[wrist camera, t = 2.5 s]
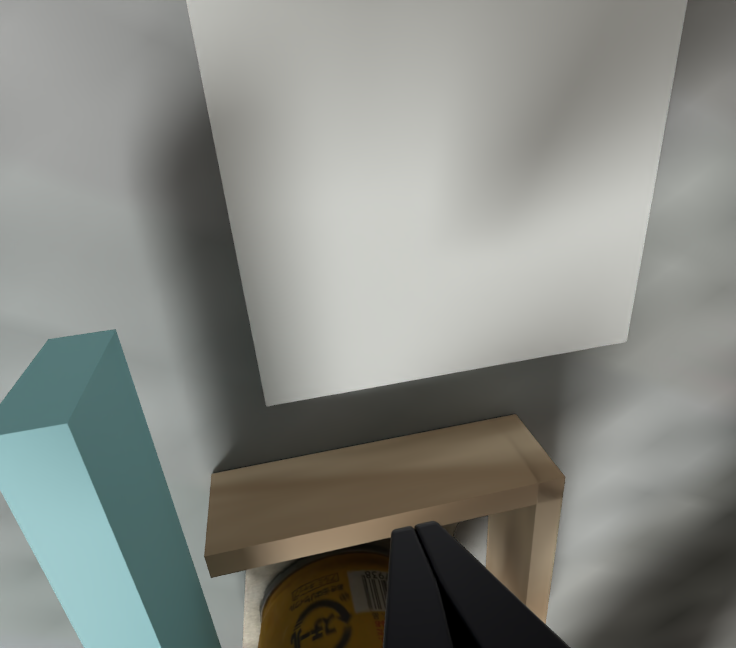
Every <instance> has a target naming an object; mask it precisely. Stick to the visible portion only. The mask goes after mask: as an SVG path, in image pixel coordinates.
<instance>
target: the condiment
mask: <svg viewBox="0 0 736 648" xmlns="http://www.w3.org/2000/svg"><path fill="white" fill-rule="evenodd" d="M457 524H458V522H456V523H452V524H447V525H443V526H442V527H443V528H444V529H445V530H446V531H447V532H448V533H449V534H450V535H452V536H454V532H455V529H456V526H457ZM390 541H391V537H390V538H385V539H381V540H376V541H372V542H368V543H363V544H359V545H354V546H350V547H345V548H341V549H337V550H332V551H328V552H323V553H319V554H315V555H310V556H306V557H301V558H297V559H292V560H288V561H284V562H279V563H275V564H270V565H266V566H261V567H257V568H253V569H248V570H246V581H245V603H244V627H243V648H383V638H384V624H385V610H386V596H387V582H388V569H389V555H390Z"/></svg>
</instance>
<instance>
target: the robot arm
mask: <svg viewBox="0 0 736 648" xmlns="http://www.w3.org/2000/svg"><path fill="white" fill-rule="evenodd" d="M383 648H570V647H569V646H568V645H567V644H566V643H565V642H564V641H563V640H562V639H561V638H560V637H559V636H558V635H556V634H555V633H554V632H553V631H552V630H551V629H550V628H549V627H548V626H547V625H546V624H545V623H544V622H543V621H542V620H541V619H540V618H538V617H537V616H536V615H535V614H534V613H533V612H532V611H531V610H530V609H529V608H528V607H527V606H526V605H525V604H524V603H523V602H521V601H520V600H519V599H518V598H517V597H516V596H515V595H514V594H513V593H512V592H511V591H510V590H509V589H508V588H507V587H506V586H505V585H503V584H502V583H501V582H500V581H499V580H498V579H497V578H496V577H495V576H494V575H493V574H492V573H491V572H490V571H489V570H488V569H487V568H485V567H484V566H483V565H482V564H481V563H480V562H479V561H478V560H477V559H476V558H475V557H474V556H473V555H472V554H471V553H470V552H468V551H467V550H466V549H465V548H464V547H463V546H462V545H461V544H460V543H459V542H458V541H457V540H456V539H455V538H454V537H453V536H452V535H450V534H449V533H448V532H447V531H446V530H445V529H444V528H443V527H442V526H441V525H440V524H439V523H438V522H436V521H429V522H425V523H420V524H417V525H415V526H414V528H413V527H412V526H407V527H402V528H398V529H394V530H393V531H392V532H391V541H390V555H389V569H388V582H387V596H386V610H385V624H384V638H383Z"/></svg>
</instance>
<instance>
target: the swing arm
mask: <svg viewBox="0 0 736 648" xmlns="http://www.w3.org/2000/svg"><path fill="white" fill-rule="evenodd" d="M0 490H1V492H2V494H3V496H4V498H5V500H6V502H7V504H8V505H9V507H10V509H11V511H12V513H13V515H14V517H15V519H16V520H17V522H18V524H19V526H20V528H21V530H22V532H23V534H24V536H25V537H26V539H27V541H28V543H29V545H30V547H31V549H32V551H33V552H34V554H35V556H36V558H37V560H38V562H39V564H40V566H41V568H42V569H43V571H44V573H45V575H46V577H47V579H48V581H49V583H50V584H51V586H52V588H53V590H54V592H55V594H56V596H57V598H58V600H59V601H60V603H61V605H62V607H63V609H64V611H65V613H66V615H67V616H68V618H69V620H70V622H71V624H72V626H73V628H74V630H75V632H76V633H77V635H78V637H79V639H80V641H81V643H82V645H83V647H84V648H221V645H220V642H219V639H218V636H217V633H216V630H215V627H214V624H213V621H212V618H211V615H210V612H209V609H208V606H207V603H206V600H205V597H204V594H203V591H202V588H201V585H200V582H199V579H198V576H197V573H196V570H195V567H194V564H193V561H192V558H191V555H190V552H189V549H188V546H187V543H186V540H185V537H184V534H183V531H182V528H181V525H180V522H179V519H178V516H177V513H176V510H175V507H174V504H173V501H172V498H171V495H170V492H169V489H168V486H167V483H166V480H165V477H164V474H163V471H162V468H161V465H160V462H159V459H158V456H157V453H156V450H155V447H154V444H153V441H152V437H151V434H150V431H149V428H148V425H147V422H146V419H145V416H144V413H143V410H142V407H141V404H140V401H139V398H138V395H137V392H136V389H135V386H134V383H133V380H132V377H131V374H130V371H129V368H128V365H127V362H126V359H125V356H124V353H123V350H122V347H121V344H120V341H119V338H118V335H117V332H116V329H114V330H107V331H101V332H94V333H87V334H81V335H74V336H67V337H61V338H54V339H48V341H47V342H46V343H45V345H44V346H43V347H42V349H41V350H40V351H39V353H38V354H37V355H36V357H35V358H34V359H33V361H32V362H31V363H30V365H29V366H28V367H27V369H26V370H25V371H24V373H23V374H22V375H21V377H20V378H19V379H18V381H17V382H16V384H15V385H14V386H13V388H12V389H11V390H10V392H9V393H8V394H7V396H6V397H5V398H4V400H3V401H2V402H1V404H0Z"/></svg>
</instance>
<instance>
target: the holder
mask: <svg viewBox="0 0 736 648" xmlns="http://www.w3.org/2000/svg"><path fill="white" fill-rule="evenodd" d="M564 484H565V476H564V475H563V474H562V472H561V471H560V470H559V468H558V467H557V466H556V465H555V463H554V462H553V461H552V460H551V458H550V457H549V456H548V454H547V453H546V452H545V451H544V449H543V448H542V447H541V446H540V444H539V443H538V442H537V440H536V439H535V438H534V437H533V435H532V434H531V433H530V432H529V430H528V429H527V428H526V426H525V425H524V424H523V423H522V421H521V420H520V419H519V418H518V416H517V415H516V414H514V415H509V416H504V417H499V418H494V419H489V420H484V421H478V422H473V423H468V424H463V425H458V426H453V427H448V428H443V429H438V430H433V431H427V432H422V433H417V434H412V435H407V436H402V437H397V438H392V439H387V440H382V441H376V442H371V443H366V444H361V445H356V446H351V447H346V448H341V449H336V450H331V451H325V452H320V453H315V454H310V455H305V456H300V457H295V458H290V459H285V460H279V461H274V462H269V463H264V464H259V465H254V466H249V467H244V468H239V469H234V470H228V471H223V472H218V473H213V474H212V476H211V487H210V498H209V509H208V520H207V532H206V543H205V554H204V557H205V560H206V564H207V567H208V570H209V573H210V576H211V578H213V577H217V576H222V575H226V574H231V573H235V572H239V571H244V570H248V569H253V568H257V567H261V566H266V565H270V564H275V563H279V562H284V561H288V560H292V559H297V558H301V557H306V556H310V555H315V554H319V553H323V552H328V551H332V550H337V549H341V548H345V547H350V546H354V545H359V544H363V543H368V542H372V541H376V540H381V539H385V538H390V537H391V532H392V531H393V530H394V529H398V528H402V527H407V526H412V527H413V528H414V526H415V525H417V524H420V523H425V522H429V521H436V522H438V523H439V524H440V525H441V526H443V525H447V524H452V523H456V522H460V521H465V520H469V519H474V518H478V517H482V516H487V515H488V534H487V555H486V568H487V569H488V570H489V571H490V572H491V573H492V574H493V575H494V576H495V577H496V578H497V579H498V580H499V581H500V582H501V583H502V584H503V585H505V586H506V587H507V588H508V589H509V590H510V591H511V592H512V593H513V594H514V595H515V596H516V597H517V598H518V599H519V600H520V601H521V602H523V603H524V604H525V605H526V606H527V607H528V608H529V609H530V610H531V611H532V612H533V613H534V614H535V615H536V616H537V617H538V618H540V619H541V620H542V621H543V622H544V623H545V624H546V616H547V609H548V602H549V594H550V587H551V580H552V572H553V565H554V557H555V550H556V543H557V535H558V528H559V521H560V513H561V506H562V498H563V491H564Z"/></svg>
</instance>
